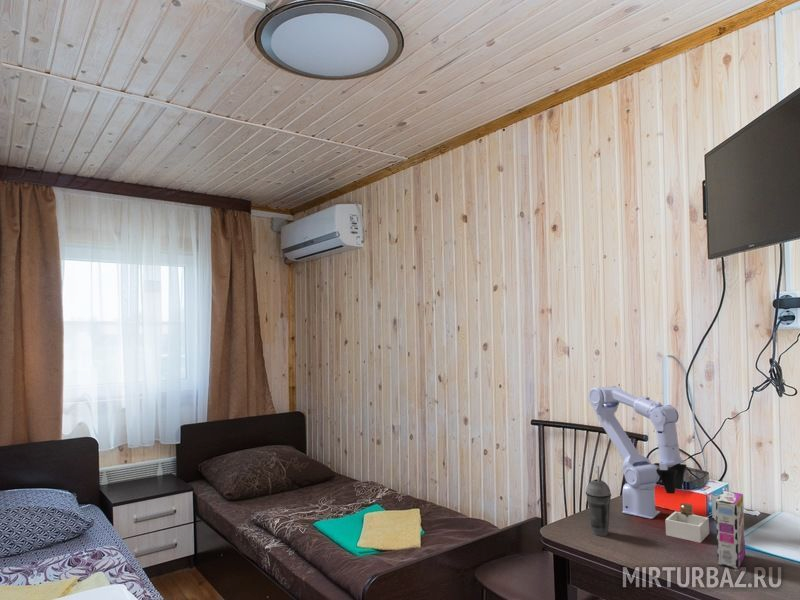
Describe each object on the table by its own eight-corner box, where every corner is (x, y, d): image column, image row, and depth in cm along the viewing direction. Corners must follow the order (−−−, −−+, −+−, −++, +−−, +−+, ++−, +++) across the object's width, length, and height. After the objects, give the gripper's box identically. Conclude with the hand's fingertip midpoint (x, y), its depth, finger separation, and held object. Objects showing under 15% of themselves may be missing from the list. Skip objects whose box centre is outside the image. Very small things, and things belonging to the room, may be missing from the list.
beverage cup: (609, 528, 169) (606, 462, 170) (616, 537, 162) (613, 468, 163) (584, 528, 170) (582, 462, 171) (590, 537, 162) (587, 468, 163)
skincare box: (742, 524, 170) (741, 500, 170) (722, 524, 170) (721, 500, 171) (730, 517, 176) (729, 494, 176) (711, 518, 176) (710, 494, 177)
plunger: (670, 533, 163) (669, 505, 163) (678, 526, 168) (677, 499, 169) (697, 539, 158) (696, 510, 159) (704, 532, 163) (703, 504, 164)
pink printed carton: (740, 570, 139) (736, 503, 140) (717, 565, 142) (714, 500, 143) (746, 555, 148) (743, 492, 148) (725, 551, 151) (722, 489, 152)
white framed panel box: (666, 535, 163) (665, 519, 163) (677, 524, 171) (677, 509, 171) (700, 542, 157) (699, 526, 157) (711, 531, 165) (710, 515, 165)
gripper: (674, 448, 165) (681, 496, 162) (689, 442, 175) (695, 487, 173) (650, 448, 169) (656, 494, 167) (665, 442, 180) (671, 486, 178)
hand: (674, 490), depth 170 cm, fingers open, 7 cm apart
